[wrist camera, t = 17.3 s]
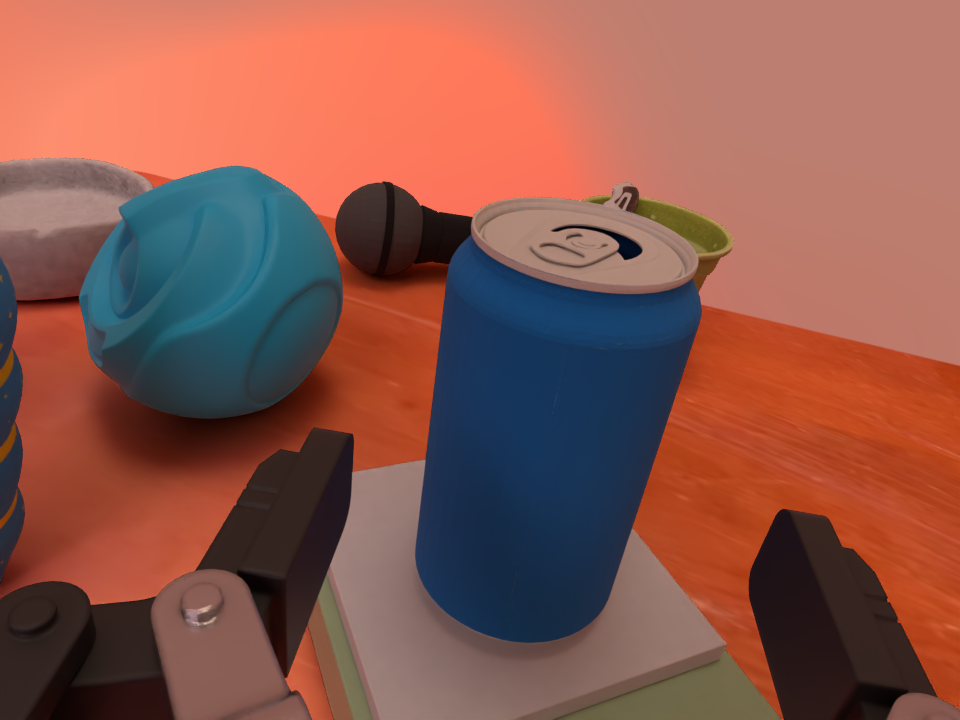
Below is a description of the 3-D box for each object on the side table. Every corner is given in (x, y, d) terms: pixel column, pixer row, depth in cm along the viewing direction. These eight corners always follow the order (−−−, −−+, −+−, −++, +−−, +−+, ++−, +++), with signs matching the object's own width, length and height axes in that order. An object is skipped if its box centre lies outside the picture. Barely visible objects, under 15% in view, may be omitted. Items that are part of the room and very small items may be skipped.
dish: (-91, 321, 38) (-119, 234, 36) (-56, 227, 48) (-76, 154, 46) (195, 299, 44) (188, 224, 42) (171, 219, 55) (165, 155, 52)
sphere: (78, 360, 37) (37, 137, 31) (287, 323, 43) (286, 131, 37) (131, 501, 29) (89, 237, 23) (378, 431, 35) (395, 209, 29)
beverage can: (641, 576, 24) (756, 250, 18) (533, 703, 20) (639, 324, 13) (493, 482, 27) (549, 178, 21) (371, 573, 23) (397, 219, 17)
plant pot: (692, 333, 49) (731, 214, 45) (691, 403, 41) (738, 267, 37) (561, 302, 51) (586, 184, 46) (536, 364, 43) (563, 228, 38)
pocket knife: (616, 176, 45) (647, 183, 45) (613, 189, 45) (644, 196, 45) (568, 250, 34) (609, 260, 33) (564, 266, 34) (604, 277, 34)
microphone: (569, 264, 59) (329, 232, 53) (600, 199, 55) (341, 155, 49) (589, 319, 55) (329, 290, 49) (624, 252, 50) (343, 212, 44)
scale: (399, 967, 17) (412, 895, 15) (285, 543, 28) (284, 470, 26) (763, 793, 22) (808, 721, 20) (545, 489, 33) (560, 424, 31)
